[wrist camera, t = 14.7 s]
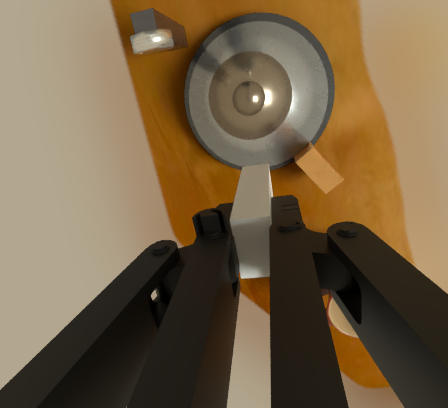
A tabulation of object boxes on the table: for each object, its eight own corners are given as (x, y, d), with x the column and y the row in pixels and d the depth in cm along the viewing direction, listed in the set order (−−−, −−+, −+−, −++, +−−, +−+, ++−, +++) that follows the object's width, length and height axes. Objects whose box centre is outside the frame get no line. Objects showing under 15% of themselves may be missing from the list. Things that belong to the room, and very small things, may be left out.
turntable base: (172, 34, 34) (168, 33, 32) (328, -3, 30) (330, -6, 29) (203, 176, 40) (200, 179, 38) (334, 158, 36) (337, 161, 35)
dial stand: (160, 32, 34) (116, 14, 24) (190, 25, 33) (158, 3, 23) (166, 59, 35) (127, 52, 25) (196, 52, 34) (167, 43, 24)
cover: (200, 96, 33) (188, 99, 28) (252, 35, 30) (249, 27, 25) (250, 147, 34) (248, 159, 29) (305, 94, 31) (312, 97, 26)
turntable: (166, 101, 35) (155, 104, 31) (259, -13, 29) (258, -25, 26) (281, 214, 38) (282, 227, 35) (383, 132, 33) (396, 138, 29)
